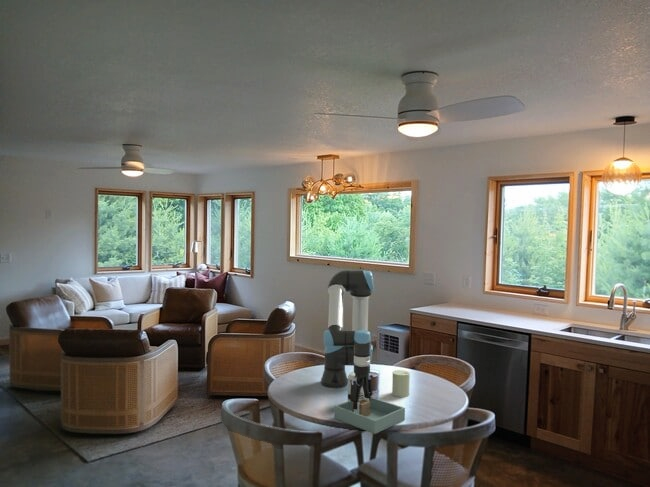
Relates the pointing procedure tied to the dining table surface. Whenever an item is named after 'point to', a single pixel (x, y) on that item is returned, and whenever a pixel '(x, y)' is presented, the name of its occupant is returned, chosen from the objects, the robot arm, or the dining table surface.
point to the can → (400, 383)
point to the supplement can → (350, 377)
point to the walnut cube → (363, 407)
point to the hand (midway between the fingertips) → (361, 413)
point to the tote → (371, 415)
